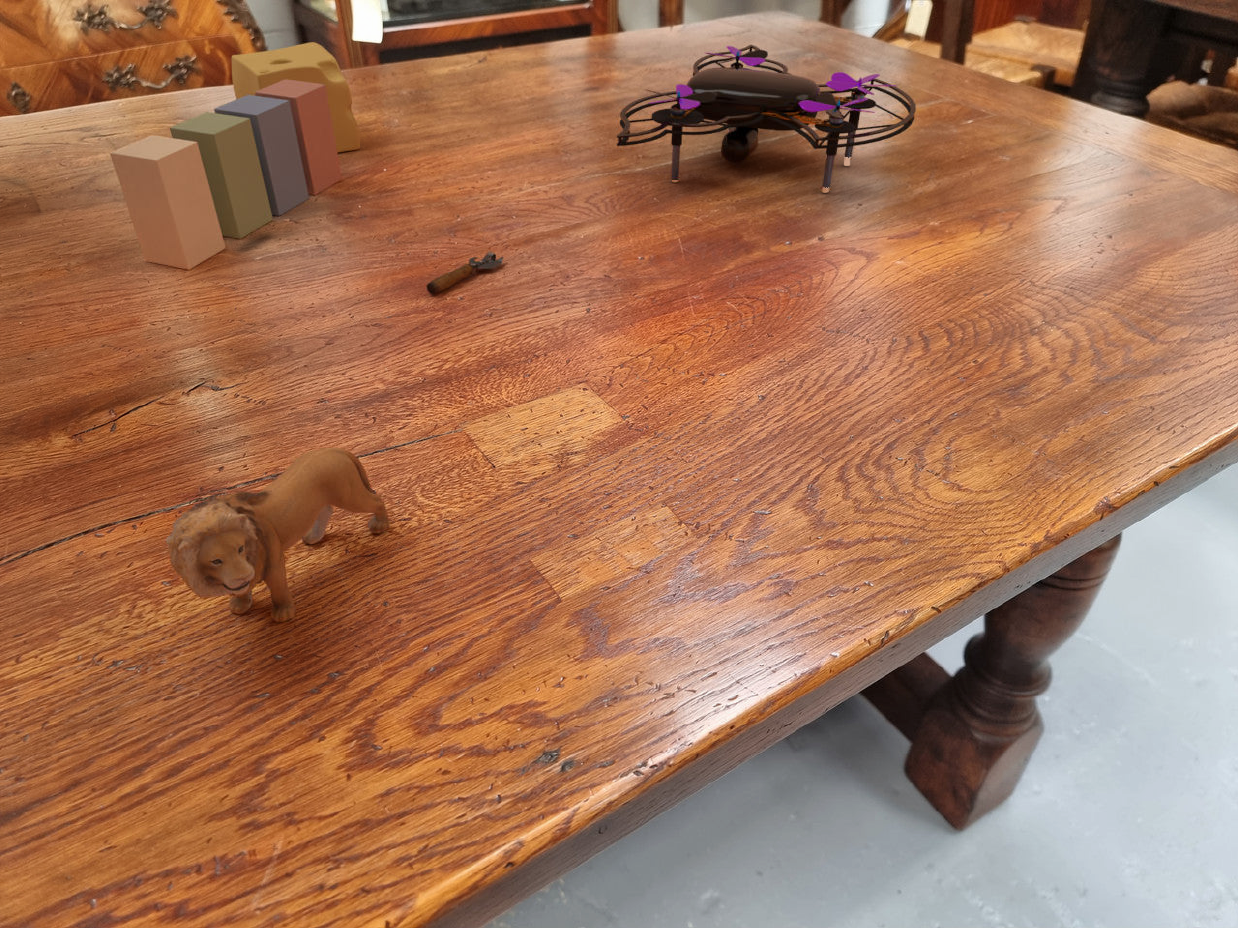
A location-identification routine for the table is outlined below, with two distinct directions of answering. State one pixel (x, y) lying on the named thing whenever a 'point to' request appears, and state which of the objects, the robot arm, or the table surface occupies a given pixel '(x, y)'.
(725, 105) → the drone
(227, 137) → the block
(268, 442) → the table surface
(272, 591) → the lion figurine
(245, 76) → the cheese
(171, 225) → the block
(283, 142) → the block
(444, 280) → the can opener
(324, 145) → the block
